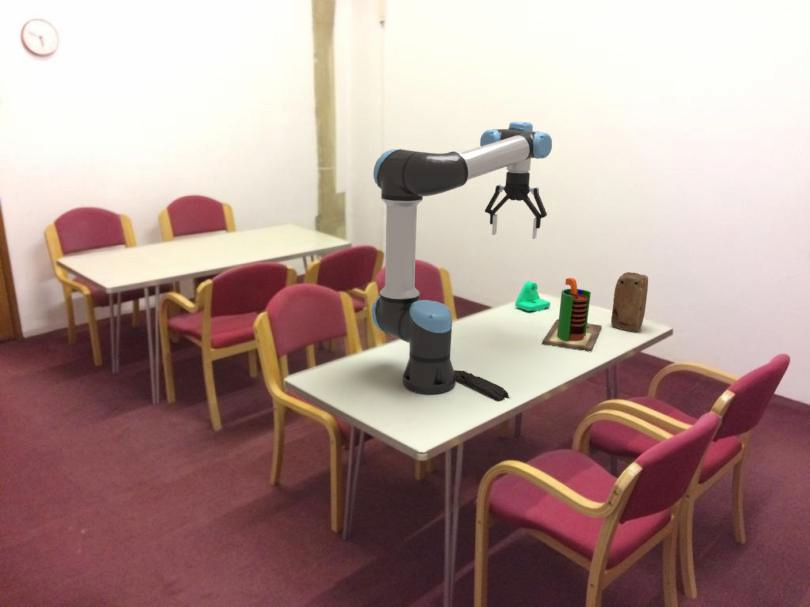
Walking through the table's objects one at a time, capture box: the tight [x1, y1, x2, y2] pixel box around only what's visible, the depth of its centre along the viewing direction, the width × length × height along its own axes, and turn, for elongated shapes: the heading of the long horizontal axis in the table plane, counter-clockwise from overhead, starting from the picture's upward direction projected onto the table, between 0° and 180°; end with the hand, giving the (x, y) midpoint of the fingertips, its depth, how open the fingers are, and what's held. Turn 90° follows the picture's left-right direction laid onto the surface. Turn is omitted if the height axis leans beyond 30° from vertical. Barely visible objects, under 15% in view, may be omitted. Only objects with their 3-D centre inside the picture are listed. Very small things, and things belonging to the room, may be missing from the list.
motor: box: [557, 277, 592, 341], centre depth 226 cm, size 10×9×20 cm
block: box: [610, 271, 649, 332], centre depth 240 cm, size 11×8×20 cm
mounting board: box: [541, 318, 603, 352], centre depth 233 cm, size 16×25×3 cm, turn 157°
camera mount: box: [514, 280, 551, 313], centre depth 262 cm, size 12×8×10 cm, turn 125°
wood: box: [453, 369, 511, 402], centre depth 193 cm, size 22×7×3 cm, turn 39°
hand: (514, 236), depth 224 cm, fingers open, 13 cm apart
